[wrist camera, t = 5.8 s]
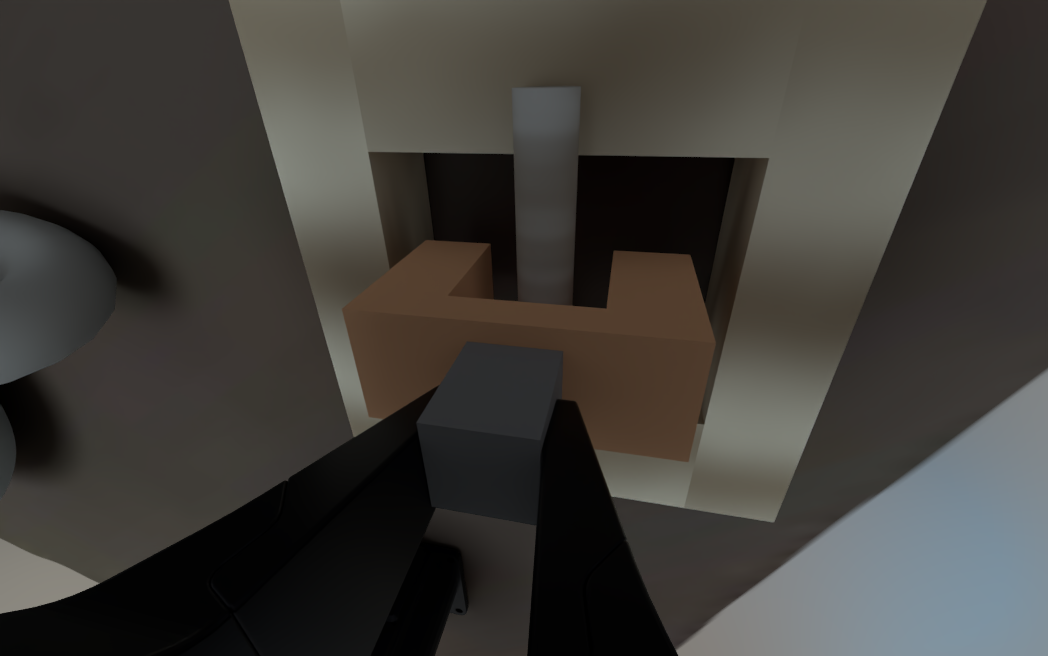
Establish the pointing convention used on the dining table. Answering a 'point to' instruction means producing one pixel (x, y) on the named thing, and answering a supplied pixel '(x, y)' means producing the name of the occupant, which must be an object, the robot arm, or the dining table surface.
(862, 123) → the grey square tray
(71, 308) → the donut
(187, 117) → the dining table surface
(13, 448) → the serving bowl
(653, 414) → the brown u-shaped block
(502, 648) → the dining table surface
